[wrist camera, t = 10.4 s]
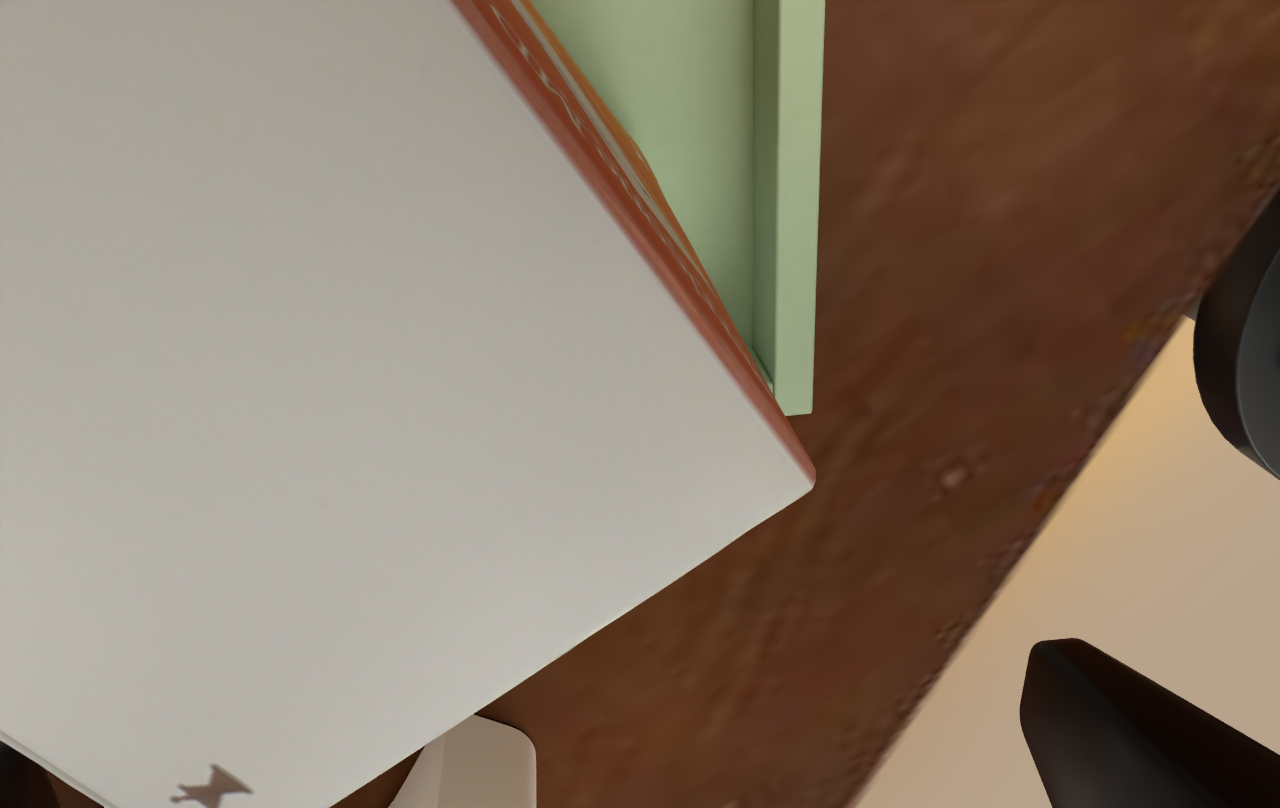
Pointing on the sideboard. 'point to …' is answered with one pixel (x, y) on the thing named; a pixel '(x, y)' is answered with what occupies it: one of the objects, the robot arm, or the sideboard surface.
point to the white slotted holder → (473, 769)
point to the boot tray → (725, 148)
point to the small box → (334, 386)
